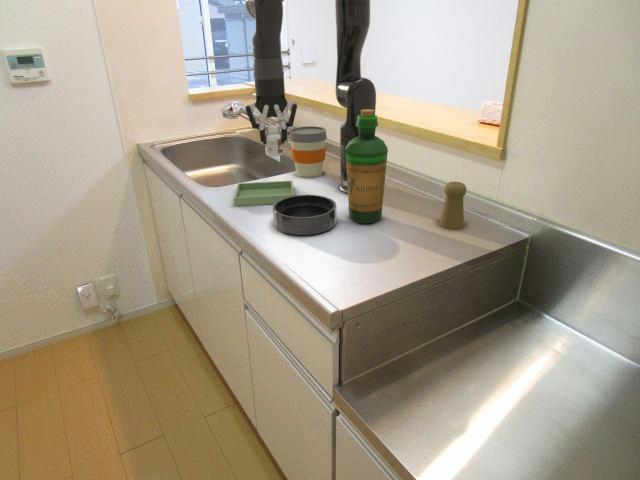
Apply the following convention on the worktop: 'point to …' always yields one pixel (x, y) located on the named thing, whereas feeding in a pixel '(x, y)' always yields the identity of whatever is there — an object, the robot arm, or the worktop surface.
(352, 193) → the bottle
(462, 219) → the cork
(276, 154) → the pill bottle
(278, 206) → the pan
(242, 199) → the tray
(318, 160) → the reusable coffee cup
